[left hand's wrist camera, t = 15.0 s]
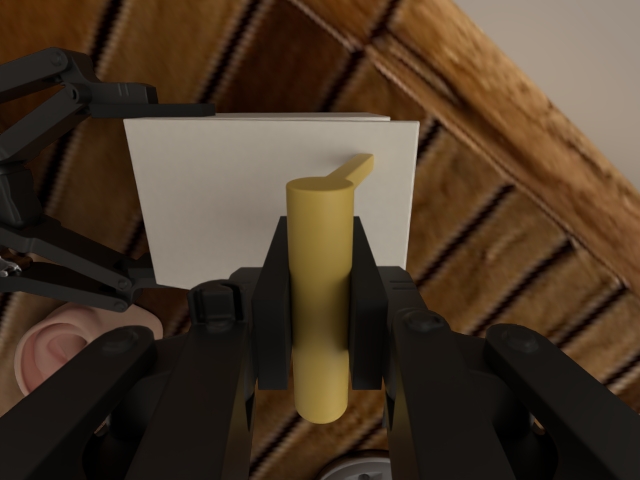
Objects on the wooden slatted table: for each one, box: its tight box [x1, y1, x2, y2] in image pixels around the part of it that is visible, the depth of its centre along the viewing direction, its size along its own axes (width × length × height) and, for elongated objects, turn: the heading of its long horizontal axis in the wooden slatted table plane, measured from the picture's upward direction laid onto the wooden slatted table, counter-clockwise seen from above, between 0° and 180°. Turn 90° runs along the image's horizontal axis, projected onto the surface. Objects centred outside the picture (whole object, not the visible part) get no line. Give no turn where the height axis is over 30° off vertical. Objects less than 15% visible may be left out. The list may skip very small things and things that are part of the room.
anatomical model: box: [14, 302, 163, 396], centre depth 34 cm, size 13×4×12 cm
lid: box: [123, 118, 420, 424], centre depth 15 cm, size 15×10×9 cm, turn 91°
